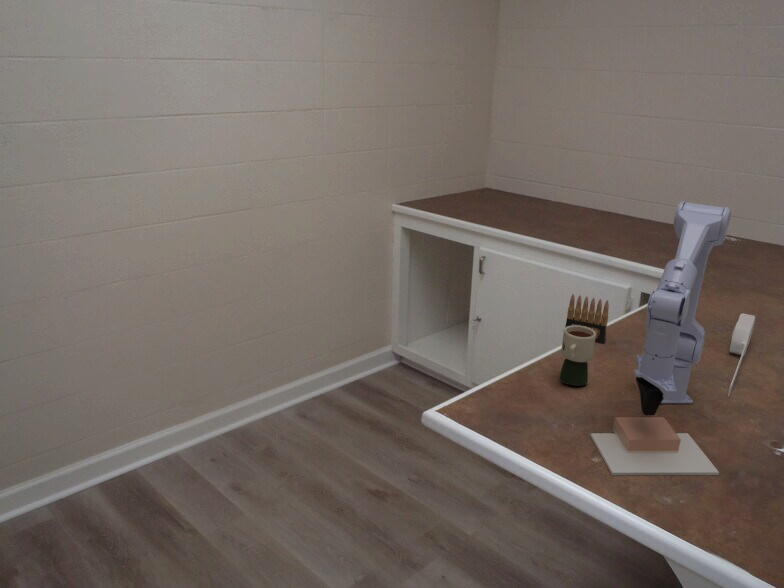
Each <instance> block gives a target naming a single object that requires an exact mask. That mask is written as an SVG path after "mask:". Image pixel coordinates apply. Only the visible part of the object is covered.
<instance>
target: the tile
mask: <svg viewBox="0 0 784 588" xmlns="http://www.w3.org/2000/svg"><path fill="white" fill-rule="evenodd" d="M612 431H613V433H615V434H616V436H617V437H618V439H619V440H620V442H621V444H622V445H623V447H624V449H625V450H626V452H627V453H678V451H679V446H680V441H681V439H680V438H679V436H678V435H677V434H676V431H675V430H674V428H673V427H672V426H671V424H670V423H669V422H668V421H667V420H666V419H665V417H664V416H658V417H656V416H653V417H652V416H651V417H650V416H649V417H647V416H645V417H644V416H643V417H640V416H638V417H637V416H635V417H633V416H632V417H631V416H624V417H623V416H619V417H618V416H615V417H614V423H613V427H612Z"/></svg>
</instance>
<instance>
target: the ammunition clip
mask: <svg viewBox="0 0 784 588" xmlns="http://www.w3.org/2000/svg"><path fill="white" fill-rule="evenodd" d="M575 301H576V305H575ZM602 302H603V301H602V299H601V298H599V300H598V302H597V306H596V300H595V297H593V298H591V301H590V305H589V298H588V296H585V298H584V302H583V305H582V296H581V294H580V295H578V298H577V300H575V294H574V293H573V294H571V297H570V300H569V306H568V309H567V317H566V321H565V327H568V326H573V325H576V326H585V327H588V328H591V329H592V330H594V331H595V332H596V337H595V343H596V344H601V345H605V344H606V340H607V329H608V320H609V308H610V307H609V305H610V304H609V300H606V301H605V303H604V306H603V305H602V304H603V303H602ZM602 306H603V307H602ZM595 307H596V308H595ZM602 308H603V310H602ZM565 327H564V328H565Z"/></svg>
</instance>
